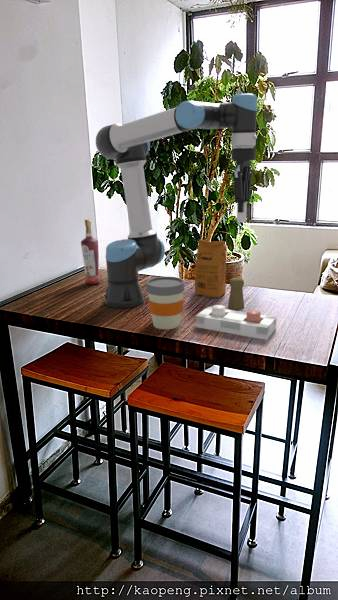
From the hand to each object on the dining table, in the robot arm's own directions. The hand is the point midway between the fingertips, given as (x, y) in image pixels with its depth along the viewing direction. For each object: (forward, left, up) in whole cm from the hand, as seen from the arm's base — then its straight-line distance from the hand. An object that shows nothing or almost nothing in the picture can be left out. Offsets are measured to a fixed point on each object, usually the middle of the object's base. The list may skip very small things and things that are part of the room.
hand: (241, 221), depth 151 cm
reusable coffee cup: (-18, -21, -33) cm, 43 cm away
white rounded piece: (-2, -14, -31) cm, 34 cm away
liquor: (-71, +7, -33) cm, 78 cm away
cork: (-3, +5, -33) cm, 33 cm away
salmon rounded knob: (+10, -14, -31) cm, 35 cm away
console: (+4, -14, -32) cm, 35 cm away
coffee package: (-18, +15, -33) cm, 40 cm away
